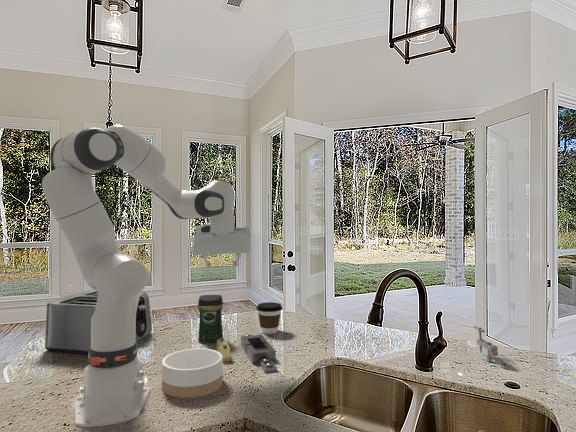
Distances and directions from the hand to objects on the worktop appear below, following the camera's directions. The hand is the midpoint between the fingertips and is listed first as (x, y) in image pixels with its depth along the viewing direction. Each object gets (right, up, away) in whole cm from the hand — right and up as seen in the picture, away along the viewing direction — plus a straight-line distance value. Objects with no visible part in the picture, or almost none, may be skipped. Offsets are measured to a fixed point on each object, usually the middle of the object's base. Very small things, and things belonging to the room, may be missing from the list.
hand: (221, 266), depth 136 cm
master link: (+1, -32, -1) cm, 32 cm away
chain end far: (+9, -32, +10) cm, 35 cm away
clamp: (+92, -32, -1) cm, 98 cm away
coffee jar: (-7, -32, +15) cm, 36 cm away
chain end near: (+15, -32, -7) cm, 36 cm away
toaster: (-50, -32, +12) cm, 60 cm away
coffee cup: (+15, -32, +27) cm, 45 cm away
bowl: (-4, -32, -24) cm, 40 cm away
